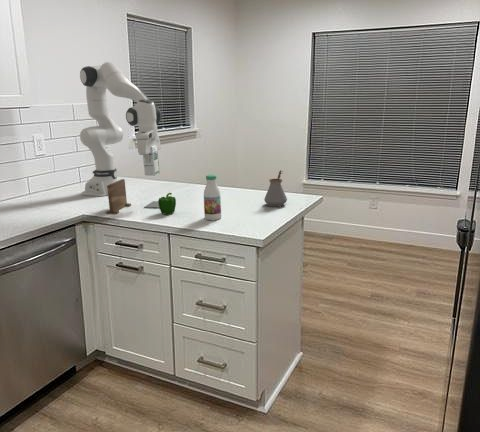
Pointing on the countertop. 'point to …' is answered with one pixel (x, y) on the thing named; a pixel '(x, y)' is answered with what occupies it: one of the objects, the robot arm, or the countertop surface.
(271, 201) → the coffee pot
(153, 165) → the syrup box
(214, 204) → the milk bottle
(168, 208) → the bell pepper
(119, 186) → the brown wooden display stand
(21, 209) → the countertop surface
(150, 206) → the coaster
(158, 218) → the countertop surface
